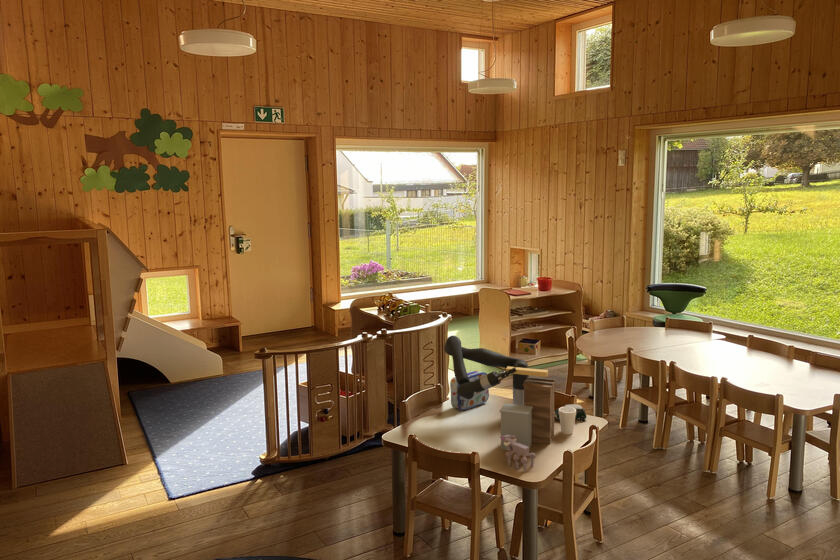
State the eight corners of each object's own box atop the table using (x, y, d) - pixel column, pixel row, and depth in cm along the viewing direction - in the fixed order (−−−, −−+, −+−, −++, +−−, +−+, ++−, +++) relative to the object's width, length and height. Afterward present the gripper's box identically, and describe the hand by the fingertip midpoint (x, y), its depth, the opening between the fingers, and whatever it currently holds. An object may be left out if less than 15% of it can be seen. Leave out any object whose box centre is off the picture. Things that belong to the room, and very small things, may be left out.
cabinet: (528, 431, 360) (528, 375, 354) (555, 435, 354) (555, 377, 348) (522, 440, 348) (522, 382, 342) (550, 444, 342) (551, 385, 336)
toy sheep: (492, 460, 326) (493, 434, 324) (505, 454, 333) (506, 429, 331) (523, 473, 311) (524, 446, 309) (537, 467, 319) (538, 441, 317)
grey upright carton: (505, 440, 348) (505, 403, 345) (532, 444, 343) (532, 406, 339) (499, 449, 338) (499, 410, 335) (528, 453, 333) (528, 414, 329)
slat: (507, 370, 353) (507, 366, 353) (547, 374, 345) (548, 370, 344) (506, 372, 349) (506, 368, 349) (546, 376, 341) (546, 372, 341)
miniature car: (553, 416, 381) (553, 403, 380) (583, 415, 381) (584, 402, 379) (556, 422, 372) (556, 409, 371) (587, 421, 372) (588, 408, 371)
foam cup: (578, 431, 358) (579, 409, 356) (570, 436, 352) (570, 414, 349) (563, 427, 365) (563, 405, 362) (555, 432, 358) (555, 410, 355)
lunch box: (459, 414, 387) (458, 379, 383) (447, 409, 395) (446, 375, 391) (490, 402, 405) (490, 369, 401) (479, 398, 412) (478, 365, 408)
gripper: (483, 378, 349) (510, 365, 342) (490, 370, 362) (516, 358, 355) (490, 390, 349) (517, 378, 342) (496, 382, 362) (523, 370, 355)
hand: (516, 368), depth 349 cm, fingers closed on slat, 4 cm apart
